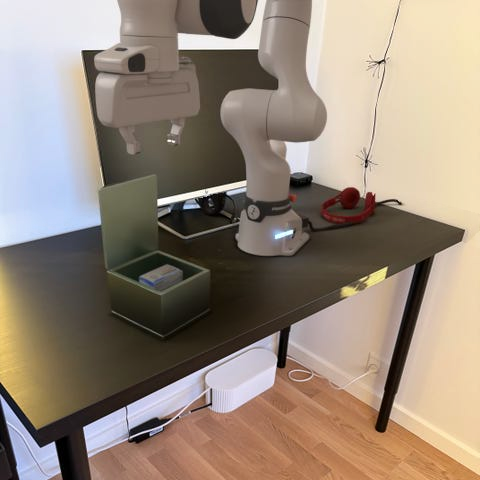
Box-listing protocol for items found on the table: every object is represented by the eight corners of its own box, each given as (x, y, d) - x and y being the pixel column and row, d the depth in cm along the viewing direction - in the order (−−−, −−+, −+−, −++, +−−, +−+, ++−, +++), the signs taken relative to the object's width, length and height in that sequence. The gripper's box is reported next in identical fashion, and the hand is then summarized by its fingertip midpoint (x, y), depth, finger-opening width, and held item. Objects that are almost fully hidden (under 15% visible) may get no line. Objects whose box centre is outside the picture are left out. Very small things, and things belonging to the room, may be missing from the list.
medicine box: (168, 300, 104) (166, 263, 99) (183, 306, 101) (182, 269, 97) (140, 314, 98) (137, 275, 94) (156, 321, 96) (154, 282, 91)
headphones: (345, 201, 169) (312, 222, 157) (346, 181, 164) (313, 202, 153) (383, 212, 160) (352, 235, 149) (386, 191, 156) (354, 214, 145)
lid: (157, 175, 95) (138, 169, 97) (100, 189, 85) (81, 182, 88) (158, 248, 103) (141, 241, 106) (107, 269, 94) (89, 260, 96)
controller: (219, 219, 149) (220, 187, 144) (190, 210, 156) (189, 179, 150) (228, 216, 152) (229, 184, 147) (198, 207, 159) (198, 176, 153)
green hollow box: (210, 312, 102) (210, 270, 96) (163, 340, 92) (161, 295, 87) (159, 290, 109) (157, 250, 104) (111, 314, 99) (106, 271, 94)
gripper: (180, 55, 84) (182, 138, 92) (84, 57, 70) (95, 155, 77) (208, 57, 81) (208, 143, 88) (113, 60, 67) (122, 162, 74)
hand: (154, 149), depth 83 cm, fingers open, 8 cm apart
